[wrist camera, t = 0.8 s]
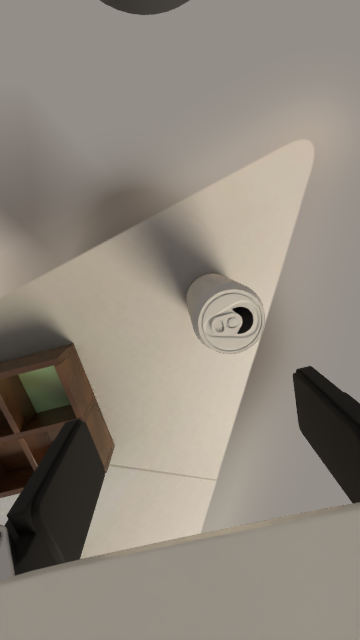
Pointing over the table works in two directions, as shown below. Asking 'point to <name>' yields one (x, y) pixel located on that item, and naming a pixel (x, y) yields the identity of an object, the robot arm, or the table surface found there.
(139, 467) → the table surface
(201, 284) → the beverage can
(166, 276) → the table surface
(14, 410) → the tray
